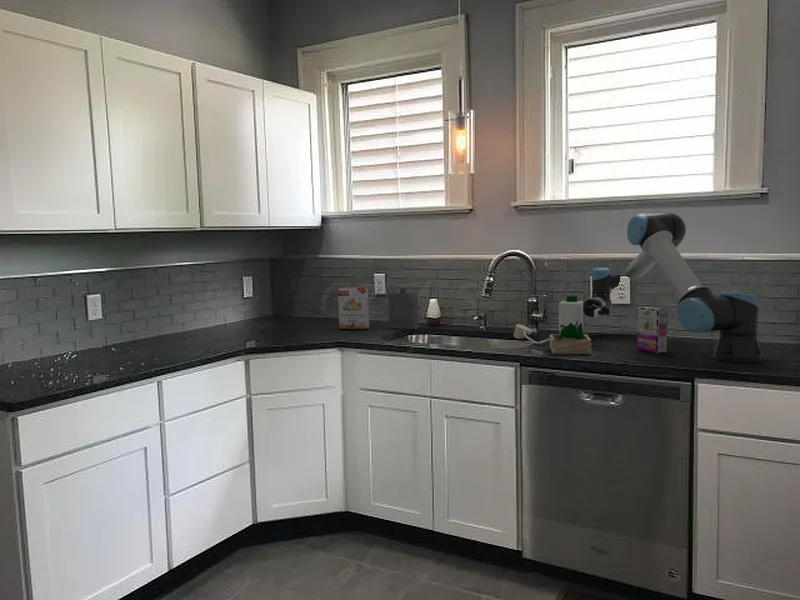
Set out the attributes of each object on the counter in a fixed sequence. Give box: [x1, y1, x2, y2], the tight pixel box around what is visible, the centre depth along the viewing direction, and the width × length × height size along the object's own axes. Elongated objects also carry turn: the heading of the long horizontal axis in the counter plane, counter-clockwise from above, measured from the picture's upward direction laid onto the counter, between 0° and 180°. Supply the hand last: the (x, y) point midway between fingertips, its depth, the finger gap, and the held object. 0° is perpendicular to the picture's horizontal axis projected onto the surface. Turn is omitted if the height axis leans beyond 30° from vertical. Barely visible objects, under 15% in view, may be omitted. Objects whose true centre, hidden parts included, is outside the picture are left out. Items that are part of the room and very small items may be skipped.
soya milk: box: [558, 295, 584, 340], centre depth 257 cm, size 9×9×20 cm
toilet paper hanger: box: [513, 324, 550, 345], centre depth 289 cm, size 20×5×16 cm
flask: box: [387, 287, 419, 330], centre depth 330 cm, size 15×6×20 cm, turn 70°
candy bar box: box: [636, 306, 669, 355], centre depth 253 cm, size 11×5×16 cm, turn 21°
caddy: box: [549, 333, 592, 355], centre depth 257 cm, size 14×14×6 cm
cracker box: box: [337, 286, 370, 329], centre depth 331 cm, size 14×6×21 cm, turn 81°
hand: (577, 313), depth 264 cm, fingers open, 13 cm apart
